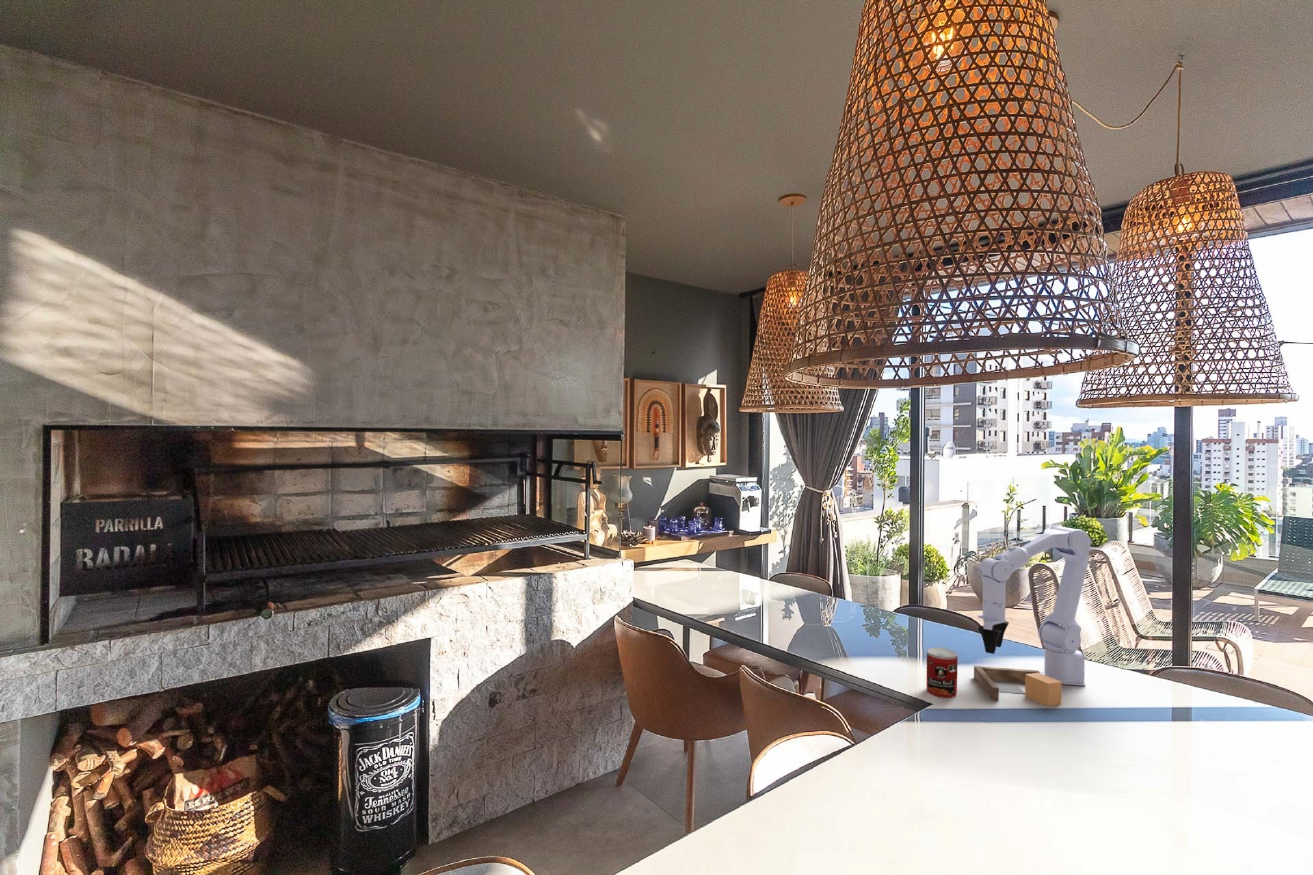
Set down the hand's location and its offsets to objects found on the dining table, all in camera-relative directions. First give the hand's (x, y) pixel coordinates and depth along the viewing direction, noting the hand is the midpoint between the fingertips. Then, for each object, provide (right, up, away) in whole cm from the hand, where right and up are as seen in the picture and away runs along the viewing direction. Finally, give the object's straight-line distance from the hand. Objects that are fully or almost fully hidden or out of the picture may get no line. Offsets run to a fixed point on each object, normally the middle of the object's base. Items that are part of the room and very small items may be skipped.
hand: (993, 649), depth 186 cm
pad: (+2, -10, -2) cm, 10 cm away
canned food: (-18, -10, -7) cm, 21 cm away
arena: (+4, -10, -5) cm, 12 cm away
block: (+7, -10, -11) cm, 17 cm away
